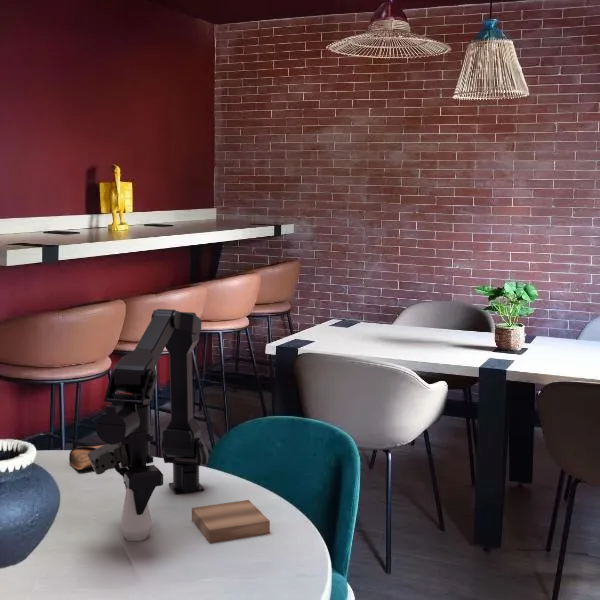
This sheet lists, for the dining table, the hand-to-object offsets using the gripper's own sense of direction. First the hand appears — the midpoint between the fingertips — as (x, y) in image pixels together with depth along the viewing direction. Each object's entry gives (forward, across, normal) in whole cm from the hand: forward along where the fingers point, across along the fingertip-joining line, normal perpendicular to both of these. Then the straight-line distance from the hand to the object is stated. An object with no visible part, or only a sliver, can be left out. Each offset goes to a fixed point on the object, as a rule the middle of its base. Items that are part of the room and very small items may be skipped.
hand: (136, 509), depth 160 cm
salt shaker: (+6, 0, 0) cm, 6 cm away
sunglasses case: (+6, -42, +4) cm, 43 cm away
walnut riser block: (+6, +2, +18) cm, 19 cm away
